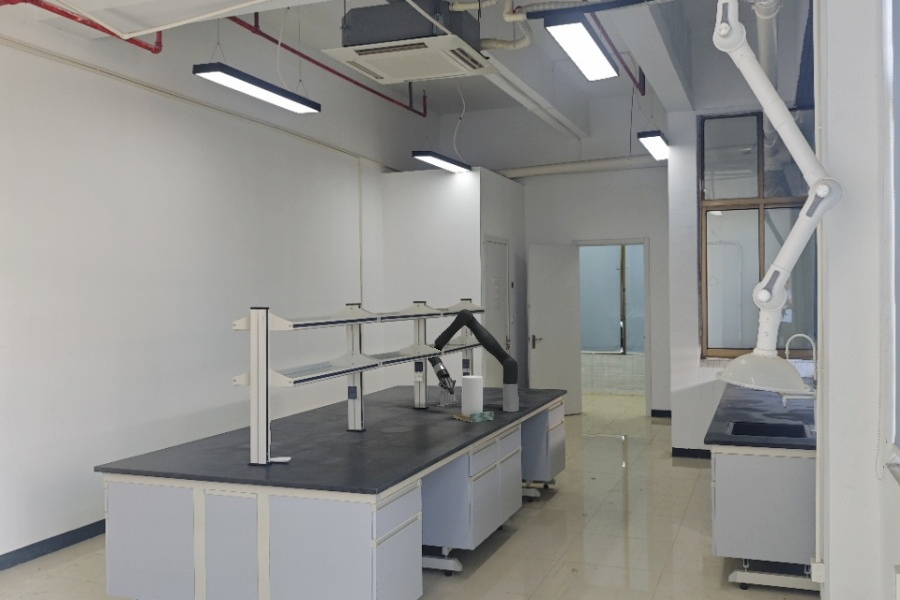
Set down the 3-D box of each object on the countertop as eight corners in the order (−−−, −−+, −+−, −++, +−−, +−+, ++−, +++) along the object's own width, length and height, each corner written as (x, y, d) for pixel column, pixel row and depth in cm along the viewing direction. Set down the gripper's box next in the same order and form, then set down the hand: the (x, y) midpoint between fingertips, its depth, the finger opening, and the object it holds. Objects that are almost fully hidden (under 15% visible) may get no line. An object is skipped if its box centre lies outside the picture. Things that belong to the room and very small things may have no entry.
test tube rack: (443, 407, 505) (443, 386, 505) (436, 406, 507) (437, 386, 507) (458, 402, 528) (458, 382, 528) (452, 401, 530) (452, 382, 530)
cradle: (475, 416, 470) (475, 407, 470) (493, 420, 456) (493, 411, 455) (453, 418, 461) (453, 410, 461) (471, 422, 446) (471, 414, 446)
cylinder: (457, 418, 461) (457, 376, 461) (474, 416, 468) (474, 375, 468) (469, 421, 451) (469, 378, 450) (486, 419, 458) (487, 377, 457)
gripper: (434, 368, 480) (446, 390, 470) (452, 367, 487) (464, 388, 477) (430, 376, 484) (441, 398, 474) (447, 375, 492) (459, 396, 482)
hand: (452, 393), depth 476 cm, fingers closed
